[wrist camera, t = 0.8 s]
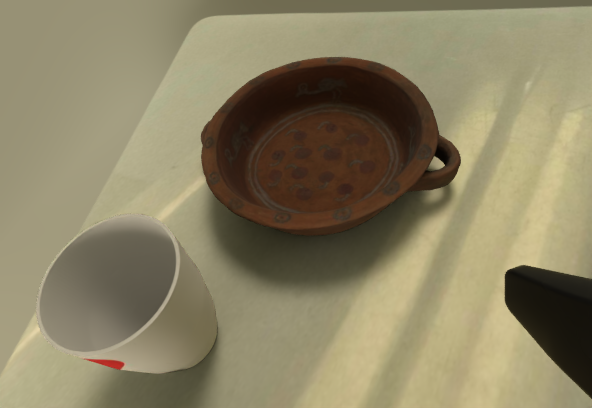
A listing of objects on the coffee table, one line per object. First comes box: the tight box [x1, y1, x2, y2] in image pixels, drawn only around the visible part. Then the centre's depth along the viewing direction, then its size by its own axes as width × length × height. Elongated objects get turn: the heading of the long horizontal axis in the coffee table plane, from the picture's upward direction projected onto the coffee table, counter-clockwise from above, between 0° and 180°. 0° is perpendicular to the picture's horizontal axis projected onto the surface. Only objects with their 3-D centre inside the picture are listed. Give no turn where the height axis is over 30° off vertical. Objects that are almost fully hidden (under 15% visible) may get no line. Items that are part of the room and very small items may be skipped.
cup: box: [36, 214, 217, 374], centre depth 27 cm, size 8×8×10 cm
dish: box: [201, 57, 461, 236], centre depth 35 cm, size 18×22×5 cm
